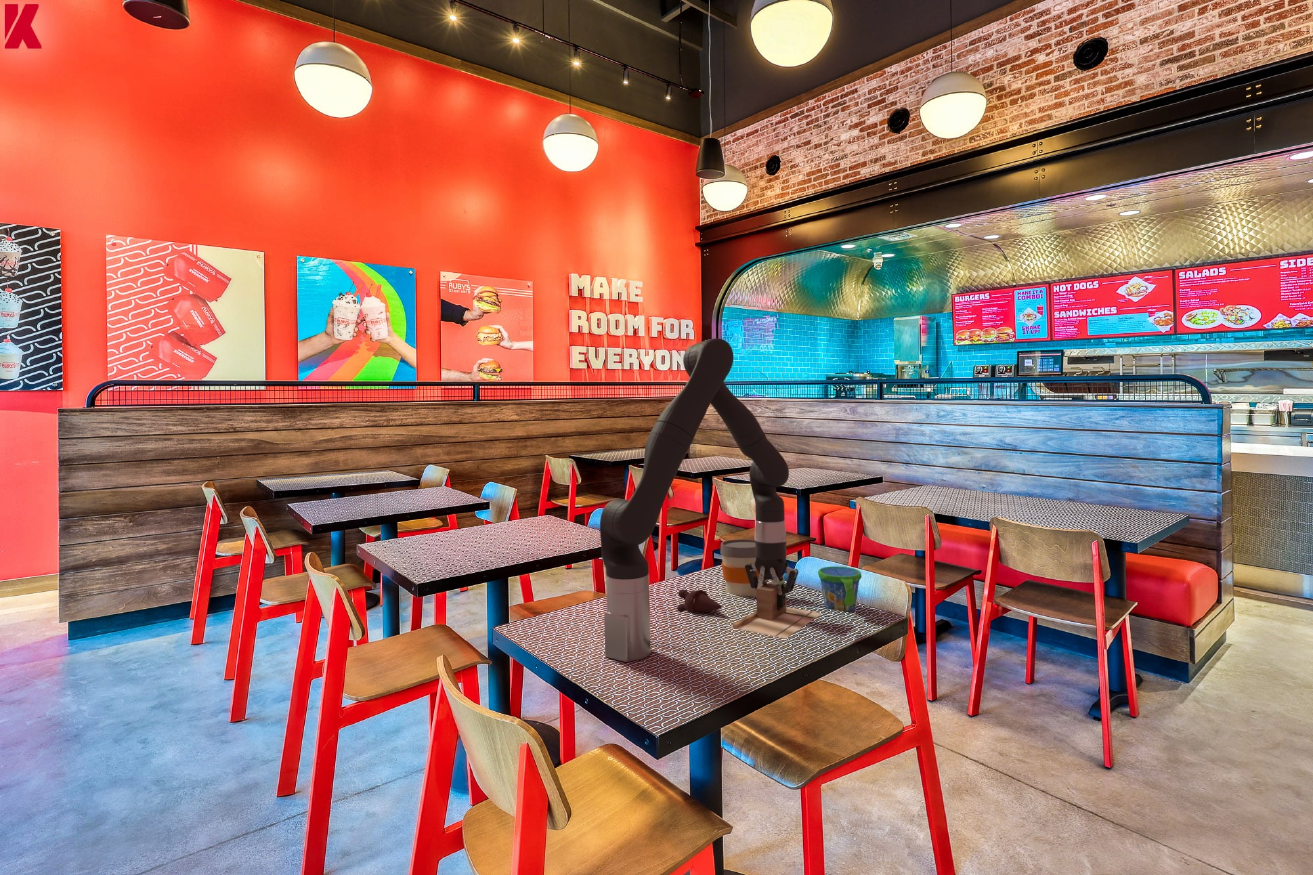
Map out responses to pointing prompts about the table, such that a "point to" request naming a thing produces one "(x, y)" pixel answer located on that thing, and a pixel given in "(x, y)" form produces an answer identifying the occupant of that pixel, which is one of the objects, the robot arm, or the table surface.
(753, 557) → the reusable coffee cup
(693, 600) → the icecream
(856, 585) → the snack cup
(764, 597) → the block
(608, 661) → the table surface
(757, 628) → the board
